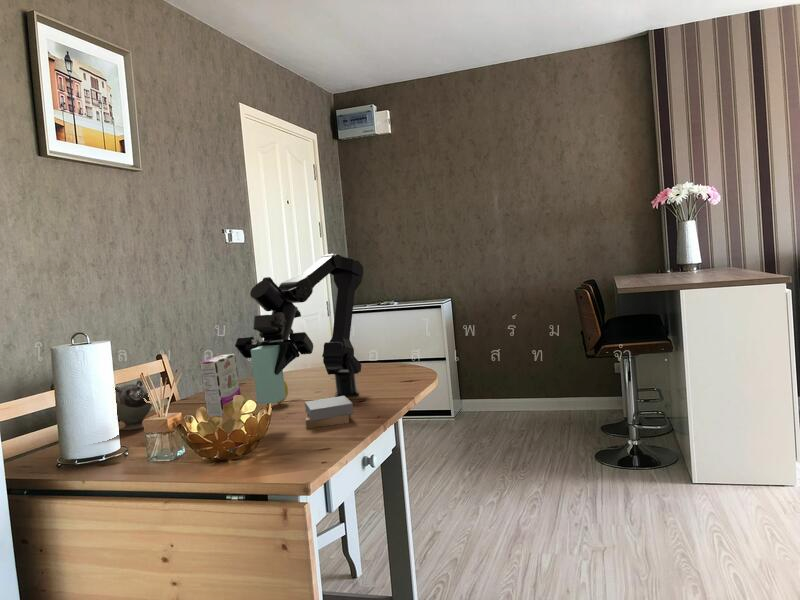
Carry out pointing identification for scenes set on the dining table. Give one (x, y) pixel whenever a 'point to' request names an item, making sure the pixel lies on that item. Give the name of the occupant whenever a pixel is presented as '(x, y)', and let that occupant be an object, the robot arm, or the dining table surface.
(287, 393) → the lemon
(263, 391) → the pillar
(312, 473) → the dining table surface
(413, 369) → the dining table surface
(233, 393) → the candy bar box
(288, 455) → the dining table surface
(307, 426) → the bottom slab
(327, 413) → the top slab
